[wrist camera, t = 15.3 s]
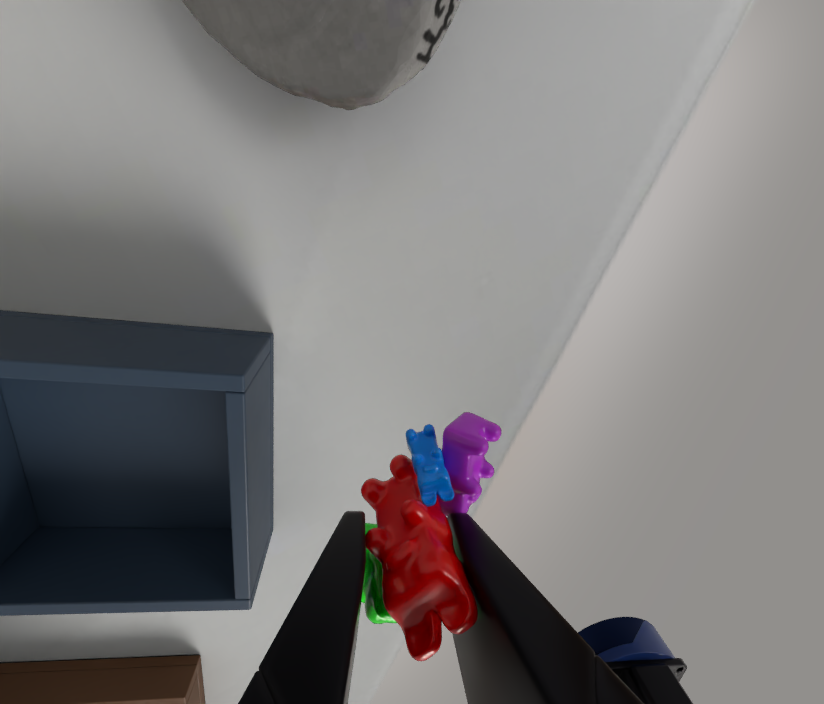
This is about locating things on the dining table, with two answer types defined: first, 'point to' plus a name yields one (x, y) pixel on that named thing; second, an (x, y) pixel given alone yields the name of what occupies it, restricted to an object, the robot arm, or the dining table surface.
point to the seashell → (330, 43)
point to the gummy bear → (425, 533)
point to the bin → (132, 465)
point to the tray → (104, 681)
